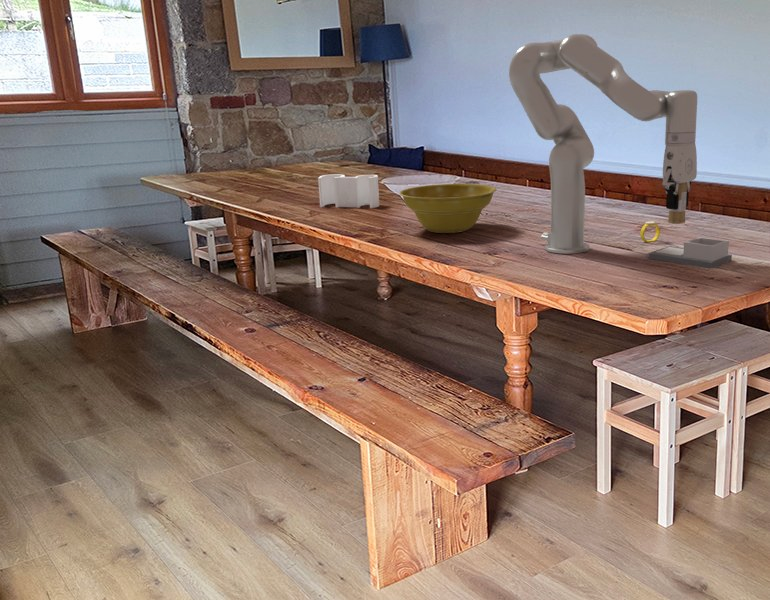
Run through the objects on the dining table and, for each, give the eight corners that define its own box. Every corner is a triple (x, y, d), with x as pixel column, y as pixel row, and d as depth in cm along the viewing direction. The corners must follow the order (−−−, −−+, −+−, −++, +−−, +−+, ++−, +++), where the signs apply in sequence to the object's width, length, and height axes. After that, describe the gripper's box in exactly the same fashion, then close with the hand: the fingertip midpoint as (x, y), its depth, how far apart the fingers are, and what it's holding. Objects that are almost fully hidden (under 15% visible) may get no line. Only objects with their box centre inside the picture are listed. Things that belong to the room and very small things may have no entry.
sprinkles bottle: (664, 223, 221) (666, 173, 217) (673, 220, 224) (676, 171, 220) (679, 224, 218) (681, 174, 214) (689, 222, 220) (691, 172, 217)
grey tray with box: (648, 258, 223) (649, 238, 222) (669, 251, 230) (670, 232, 229) (711, 268, 210) (712, 247, 209) (731, 260, 217) (732, 240, 216)
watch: (644, 244, 241) (644, 224, 239) (638, 242, 244) (638, 223, 242) (661, 240, 243) (661, 221, 241) (655, 239, 245) (655, 219, 244)
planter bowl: (428, 218, 296) (427, 181, 292) (511, 223, 279) (511, 184, 276) (383, 236, 269) (381, 195, 266) (471, 242, 253) (470, 199, 249)
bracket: (383, 204, 330) (382, 174, 326) (373, 208, 321) (371, 178, 318) (328, 203, 340) (326, 174, 336) (317, 207, 331) (315, 177, 328)
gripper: (676, 142, 207) (673, 213, 212) (709, 136, 217) (706, 204, 222) (650, 141, 212) (647, 211, 217) (683, 135, 223) (680, 201, 228)
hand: (677, 206), depth 220 cm, fingers closed on sprinkles bottle, 4 cm apart
